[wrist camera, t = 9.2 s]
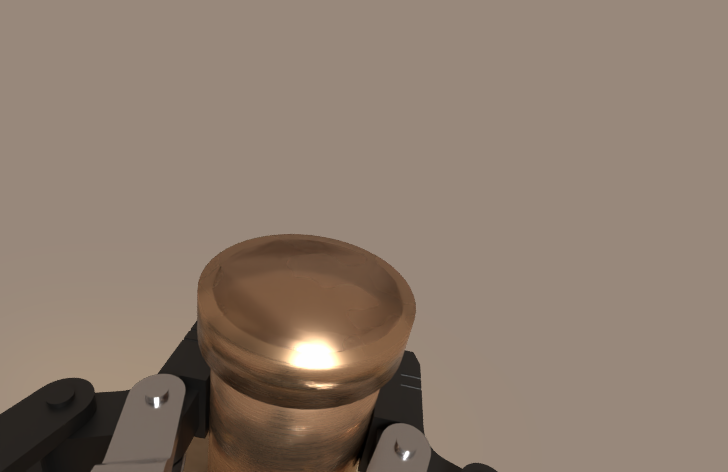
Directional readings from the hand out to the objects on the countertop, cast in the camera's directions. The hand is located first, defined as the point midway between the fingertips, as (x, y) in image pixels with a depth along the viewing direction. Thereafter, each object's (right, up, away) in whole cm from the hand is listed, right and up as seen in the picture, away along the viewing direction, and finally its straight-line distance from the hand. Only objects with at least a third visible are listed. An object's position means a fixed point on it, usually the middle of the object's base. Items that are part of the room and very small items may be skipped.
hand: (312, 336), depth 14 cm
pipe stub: (-1, -6, 0) cm, 7 cm away
